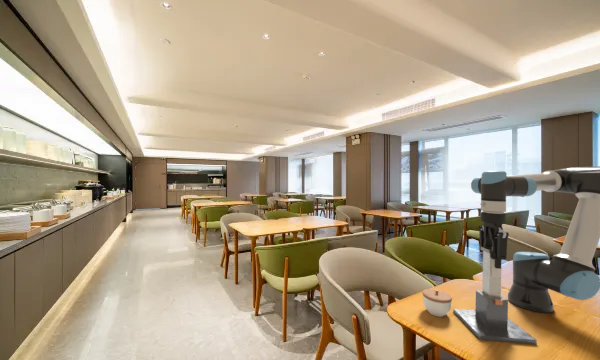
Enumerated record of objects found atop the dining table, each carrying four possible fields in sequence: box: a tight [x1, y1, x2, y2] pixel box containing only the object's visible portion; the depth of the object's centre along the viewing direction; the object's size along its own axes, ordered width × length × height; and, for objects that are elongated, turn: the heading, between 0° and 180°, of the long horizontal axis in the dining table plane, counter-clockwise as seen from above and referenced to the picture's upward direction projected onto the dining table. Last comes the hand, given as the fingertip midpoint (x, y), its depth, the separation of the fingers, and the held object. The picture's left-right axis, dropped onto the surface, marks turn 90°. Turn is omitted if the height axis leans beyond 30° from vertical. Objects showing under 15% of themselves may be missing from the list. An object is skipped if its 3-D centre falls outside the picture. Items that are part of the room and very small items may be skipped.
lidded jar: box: [422, 288, 453, 318], centre depth 104 cm, size 11×11×9 cm
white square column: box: [481, 246, 502, 298], centre depth 94 cm, size 5×5×21 cm
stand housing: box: [453, 289, 538, 345], centre depth 94 cm, size 18×18×12 cm
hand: (491, 273), depth 94 cm, fingers closed on white square column, 4 cm apart
